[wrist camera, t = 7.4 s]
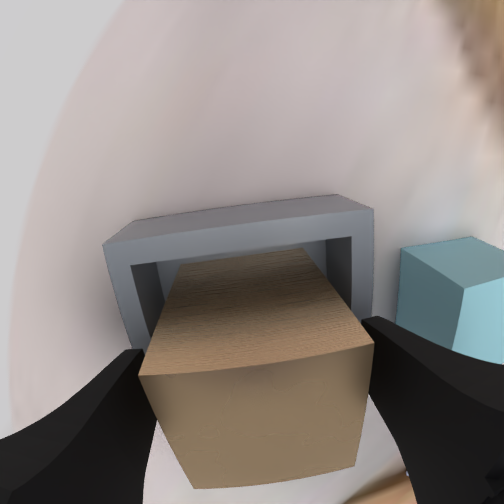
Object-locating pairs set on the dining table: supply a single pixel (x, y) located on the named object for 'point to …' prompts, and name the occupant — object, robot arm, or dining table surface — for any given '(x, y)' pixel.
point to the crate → (240, 251)
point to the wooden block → (258, 371)
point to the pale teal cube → (454, 296)
